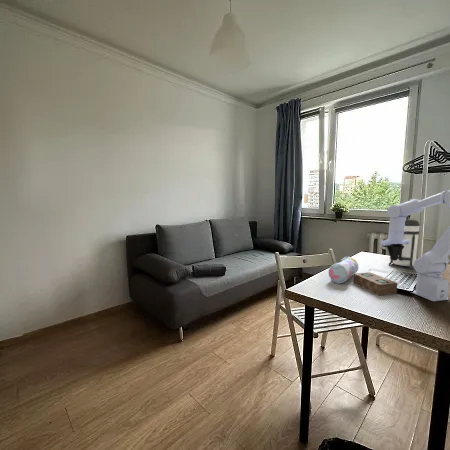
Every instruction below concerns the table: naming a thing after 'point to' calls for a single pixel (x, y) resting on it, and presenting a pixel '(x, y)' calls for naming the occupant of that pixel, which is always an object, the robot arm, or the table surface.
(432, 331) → the table surface
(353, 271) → the pencil case
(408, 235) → the coffee press
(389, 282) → the socket block
